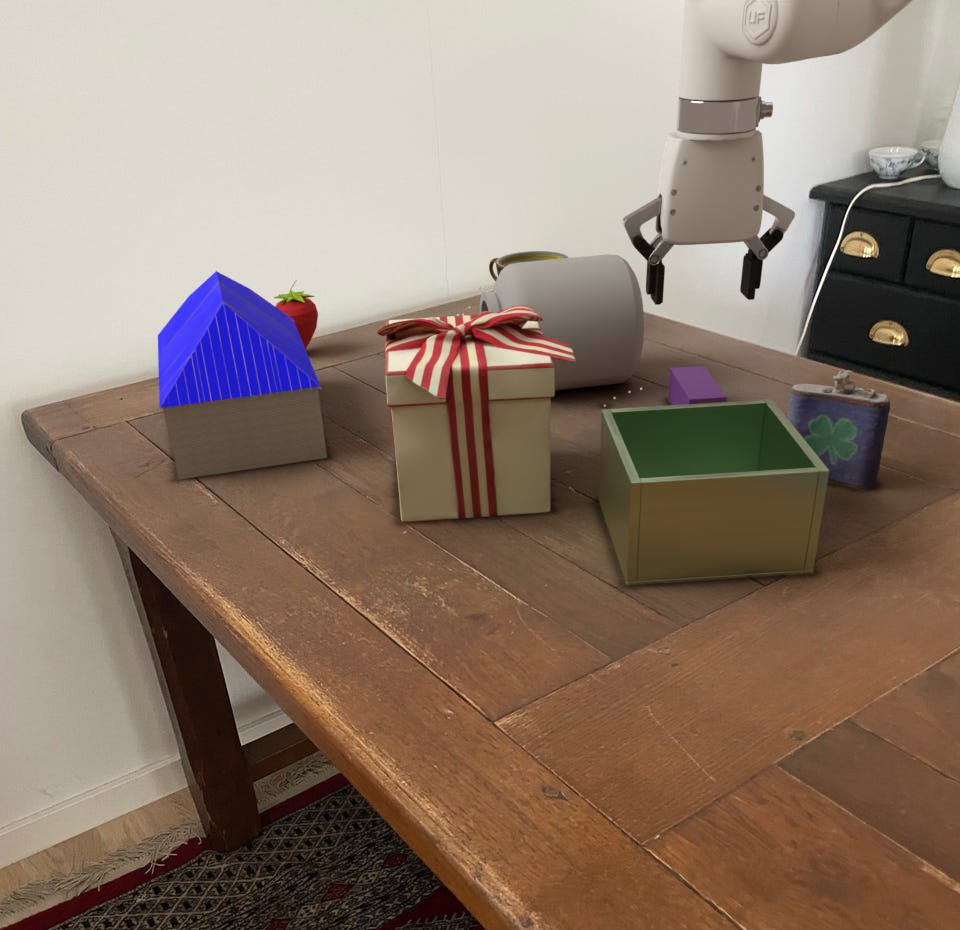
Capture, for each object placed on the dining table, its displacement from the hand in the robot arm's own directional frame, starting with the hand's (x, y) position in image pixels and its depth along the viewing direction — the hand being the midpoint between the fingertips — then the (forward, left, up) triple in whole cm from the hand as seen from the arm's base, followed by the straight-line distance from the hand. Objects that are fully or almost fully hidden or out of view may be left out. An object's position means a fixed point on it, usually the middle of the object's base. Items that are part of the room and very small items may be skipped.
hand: (701, 298), depth 108 cm
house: (+51, -4, -13) cm, 53 cm away
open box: (+6, +28, -13) cm, 32 cm away
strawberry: (+47, -30, -13) cm, 57 cm away
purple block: (0, 0, -13) cm, 13 cm away
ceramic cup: (+16, -34, -13) cm, 40 cm away
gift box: (+25, +16, -13) cm, 32 cm away
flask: (-9, +18, -13) cm, 24 cm away
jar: (+17, -10, -13) cm, 24 cm away
